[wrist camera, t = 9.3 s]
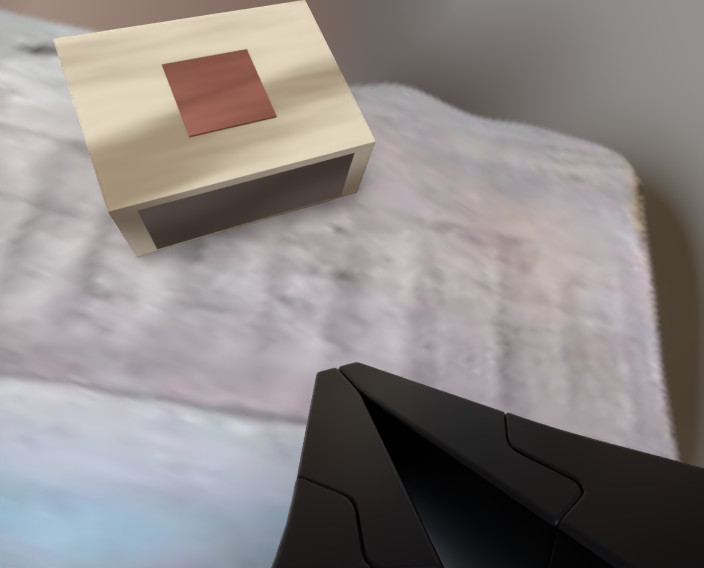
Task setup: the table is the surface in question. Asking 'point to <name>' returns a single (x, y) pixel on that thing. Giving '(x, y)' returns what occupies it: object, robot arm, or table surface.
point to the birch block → (214, 121)
